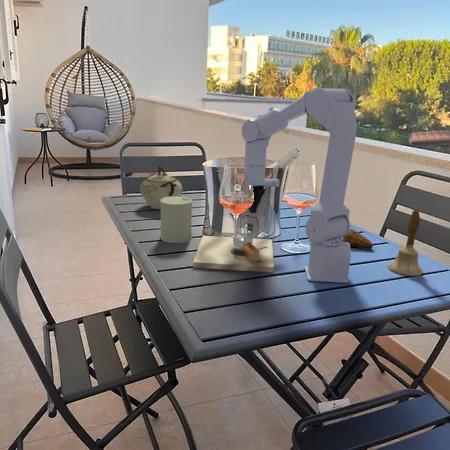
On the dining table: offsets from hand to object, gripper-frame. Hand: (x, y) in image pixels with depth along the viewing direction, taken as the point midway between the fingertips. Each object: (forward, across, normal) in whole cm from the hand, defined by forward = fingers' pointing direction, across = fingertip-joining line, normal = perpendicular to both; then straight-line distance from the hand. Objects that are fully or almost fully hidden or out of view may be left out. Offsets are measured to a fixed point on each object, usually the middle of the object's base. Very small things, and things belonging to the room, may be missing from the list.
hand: (252, 212), depth 128 cm
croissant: (+10, -29, +7) cm, 31 cm away
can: (+10, +20, -9) cm, 24 cm away
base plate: (+9, +8, +8) cm, 14 cm away
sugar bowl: (+10, +18, -43) cm, 48 cm away
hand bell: (+10, -32, +27) cm, 43 cm away
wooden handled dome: (+8, +6, +12) cm, 16 cm away
